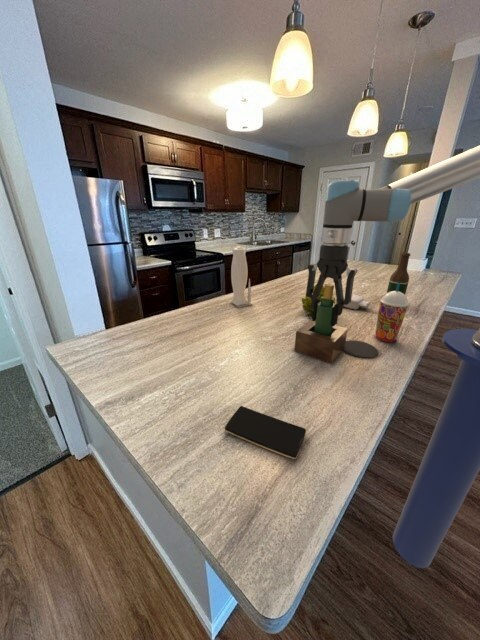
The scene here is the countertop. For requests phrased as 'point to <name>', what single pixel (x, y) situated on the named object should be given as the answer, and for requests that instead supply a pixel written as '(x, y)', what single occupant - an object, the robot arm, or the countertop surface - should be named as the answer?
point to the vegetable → (307, 301)
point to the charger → (356, 302)
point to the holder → (320, 342)
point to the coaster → (360, 349)
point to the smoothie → (391, 315)
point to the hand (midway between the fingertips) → (324, 321)
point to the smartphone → (266, 432)
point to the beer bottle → (400, 275)
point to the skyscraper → (240, 277)
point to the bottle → (325, 312)
